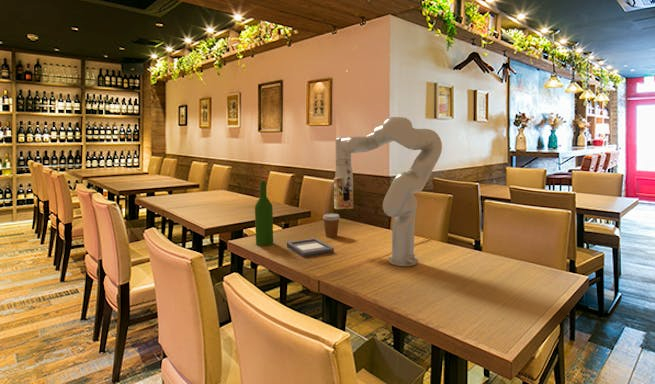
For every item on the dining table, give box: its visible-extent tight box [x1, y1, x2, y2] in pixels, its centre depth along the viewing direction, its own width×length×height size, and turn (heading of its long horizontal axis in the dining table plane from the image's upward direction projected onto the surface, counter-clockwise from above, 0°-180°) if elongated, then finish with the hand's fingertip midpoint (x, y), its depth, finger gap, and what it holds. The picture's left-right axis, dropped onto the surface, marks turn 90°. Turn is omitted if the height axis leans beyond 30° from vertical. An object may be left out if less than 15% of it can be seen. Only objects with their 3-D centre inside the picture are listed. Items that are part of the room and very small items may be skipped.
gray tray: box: [286, 237, 335, 259], centre depth 199 cm, size 20×16×2 cm
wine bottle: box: [254, 181, 274, 247], centre depth 208 cm, size 9×9×32 cm
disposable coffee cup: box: [322, 213, 340, 238], centre depth 224 cm, size 10×10×12 cm
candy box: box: [333, 177, 354, 210], centre depth 198 cm, size 9×4×15 cm, turn 107°
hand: (343, 199), depth 198 cm, fingers closed on candy box, 4 cm apart
